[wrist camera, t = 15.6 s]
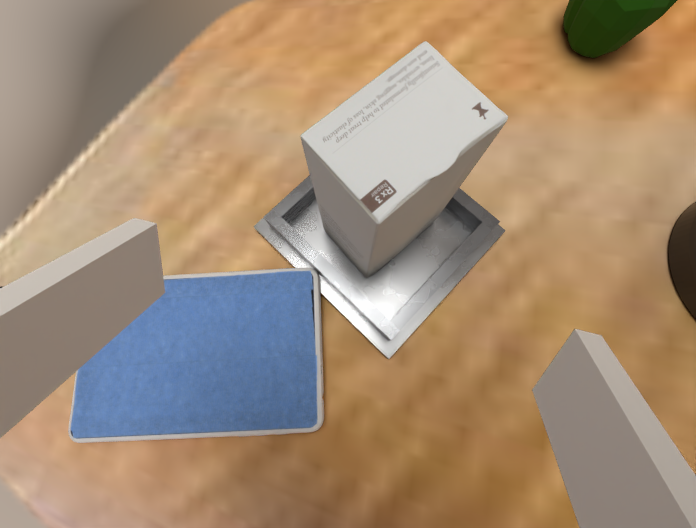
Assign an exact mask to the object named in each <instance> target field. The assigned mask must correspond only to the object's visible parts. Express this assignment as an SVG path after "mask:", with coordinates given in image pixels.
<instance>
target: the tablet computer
mask: <svg viewBox="0 0 696 528" xmlns="http://www.w3.org/2000/svg"><path fill="white" fill-rule="evenodd" d="M163 279H164V286H165V293H164V294H163V295H162V296H161V297H160V298H159V299H157V300H156V301H155V302H154V303H153V304H152V305H151V306H149V307H148V308H147V309H146V310H145V311H144V312H143V313H142V314H140V315H139V316H138V317H137V318H136V319H135V320H134V321H132V322H131V323H130V324H129V325H128V326H127V327H126V328H125V329H123V330H122V331H121V332H120V333H119V334H118V335H117V336H116V337H114V338H113V339H112V340H111V341H110V342H109V343H108V344H106V345H105V346H104V347H103V348H102V349H101V350H100V351H99V352H97V353H96V354H95V355H94V356H93V357H92V358H91V359H90V360H88V361H87V362H86V363H85V364H84V365H83V366H82V367H80V368H79V369H78V370H77V371H76V377H75V385H74V392H73V399H72V407H71V414H70V421H69V430H68V432H69V436H70V438H71V439H72V440H73V441H74V442H77V443H87V442H114V441H139V440H162V439H185V438H206V437H227V436H240V437H241V436H253V435H254V436H263V435H270V434H277V435H280V434H289V433H307V432H314V431H317V430H318V429H319V428H320V427H321V426H322V424H323V421H324V400H323V399H322V395H323V393H324V388H323V356H322V325H321V295H320V277H319V274H318V272H317V271H316V270H315V269H312V268H307V267H305V268H285V269H268V270H252V271H233V272H216V273H200V274H183V275H165V276H163Z"/></svg>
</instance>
